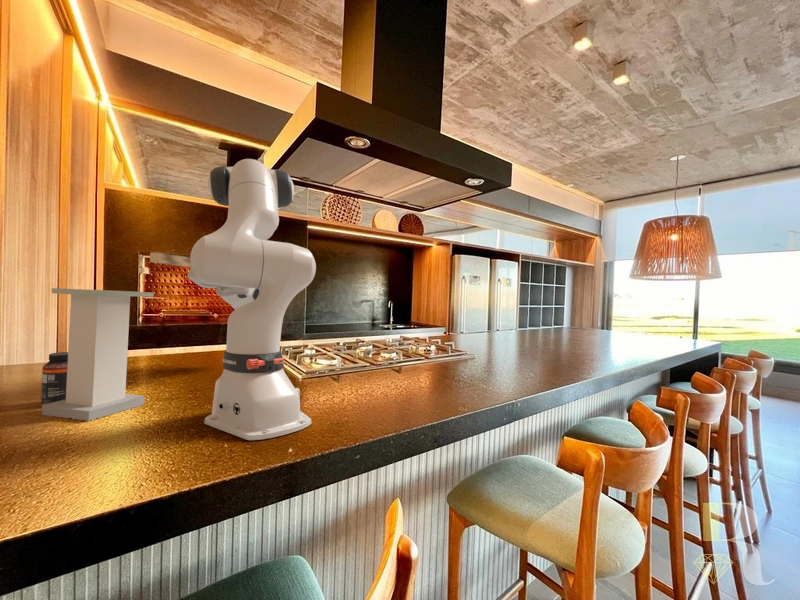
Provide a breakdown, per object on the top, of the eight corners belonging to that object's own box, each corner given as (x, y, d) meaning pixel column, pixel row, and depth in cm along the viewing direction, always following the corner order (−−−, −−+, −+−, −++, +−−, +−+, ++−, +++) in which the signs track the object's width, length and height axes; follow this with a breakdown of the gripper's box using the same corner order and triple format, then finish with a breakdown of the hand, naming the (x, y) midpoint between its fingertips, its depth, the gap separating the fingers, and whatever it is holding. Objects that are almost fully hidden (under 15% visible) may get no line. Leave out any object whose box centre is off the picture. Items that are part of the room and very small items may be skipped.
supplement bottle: (76, 397, 83) (79, 350, 83) (77, 404, 79) (80, 354, 79) (41, 402, 79) (43, 352, 79) (40, 408, 75) (42, 356, 75)
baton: (212, 270, 110) (212, 262, 110) (220, 270, 110) (220, 262, 110) (149, 262, 89) (150, 252, 89) (159, 262, 88) (159, 252, 88)
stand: (110, 396, 85) (116, 290, 85) (151, 402, 83) (157, 292, 83) (41, 414, 72) (48, 288, 72) (88, 421, 69) (95, 290, 69)
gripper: (207, 278, 121) (180, 254, 109) (261, 281, 117) (238, 255, 105) (200, 294, 118) (171, 270, 106) (254, 297, 114) (230, 272, 102)
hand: (205, 263), depth 105 cm, fingers closed on baton, 3 cm apart
